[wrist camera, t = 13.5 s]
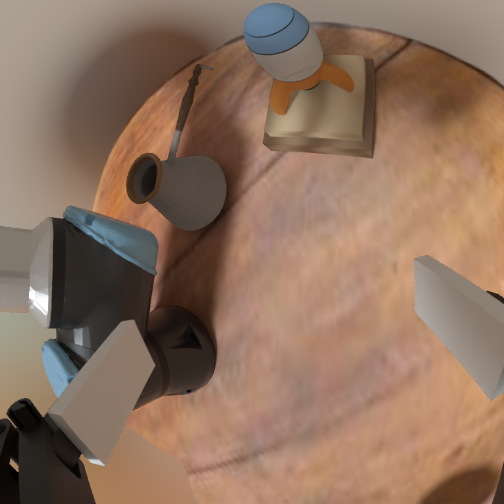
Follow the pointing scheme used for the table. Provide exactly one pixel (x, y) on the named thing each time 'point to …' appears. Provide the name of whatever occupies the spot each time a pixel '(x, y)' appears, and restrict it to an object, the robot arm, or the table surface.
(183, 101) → the coffee pot
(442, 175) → the table surface
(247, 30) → the toy rocket
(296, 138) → the pad
